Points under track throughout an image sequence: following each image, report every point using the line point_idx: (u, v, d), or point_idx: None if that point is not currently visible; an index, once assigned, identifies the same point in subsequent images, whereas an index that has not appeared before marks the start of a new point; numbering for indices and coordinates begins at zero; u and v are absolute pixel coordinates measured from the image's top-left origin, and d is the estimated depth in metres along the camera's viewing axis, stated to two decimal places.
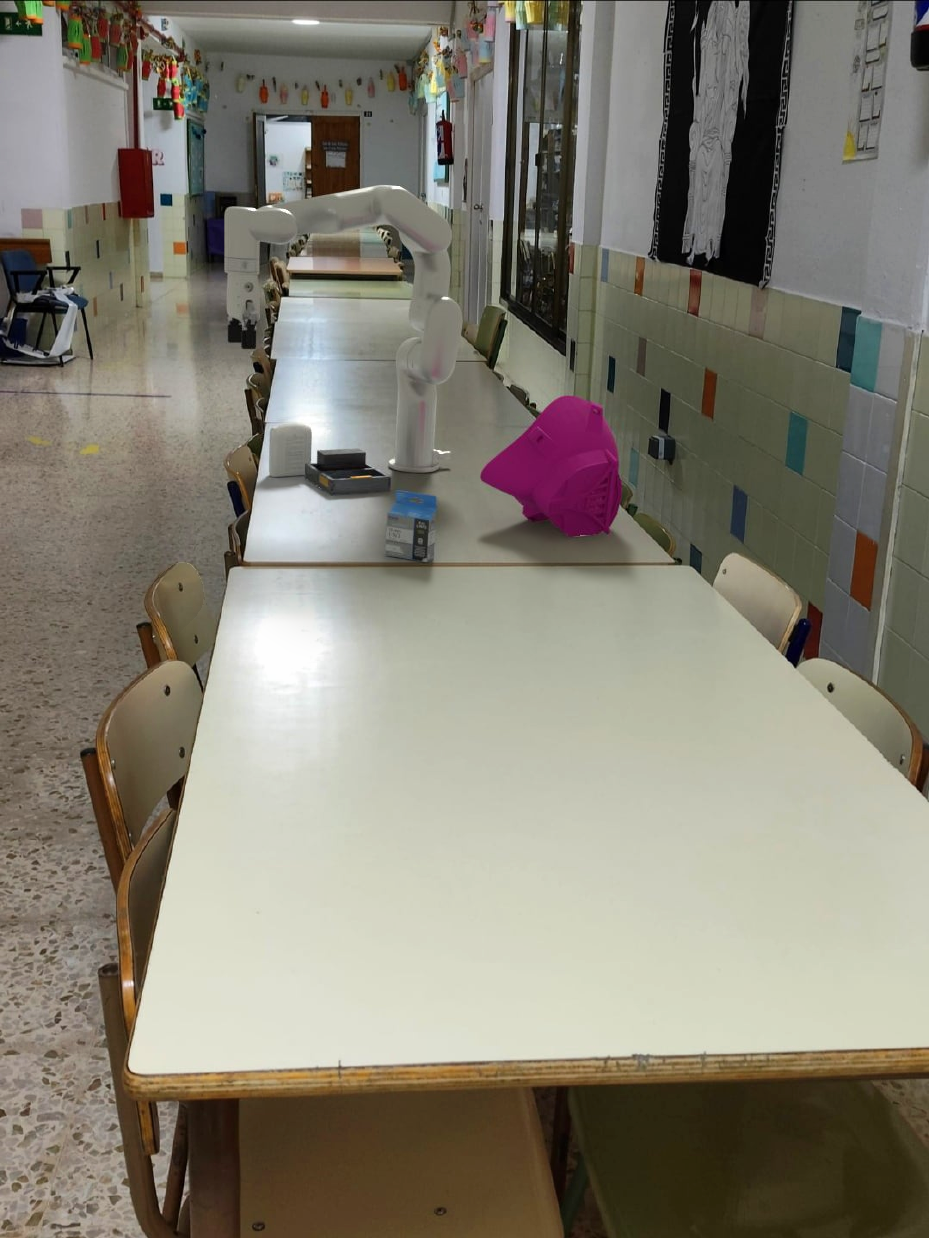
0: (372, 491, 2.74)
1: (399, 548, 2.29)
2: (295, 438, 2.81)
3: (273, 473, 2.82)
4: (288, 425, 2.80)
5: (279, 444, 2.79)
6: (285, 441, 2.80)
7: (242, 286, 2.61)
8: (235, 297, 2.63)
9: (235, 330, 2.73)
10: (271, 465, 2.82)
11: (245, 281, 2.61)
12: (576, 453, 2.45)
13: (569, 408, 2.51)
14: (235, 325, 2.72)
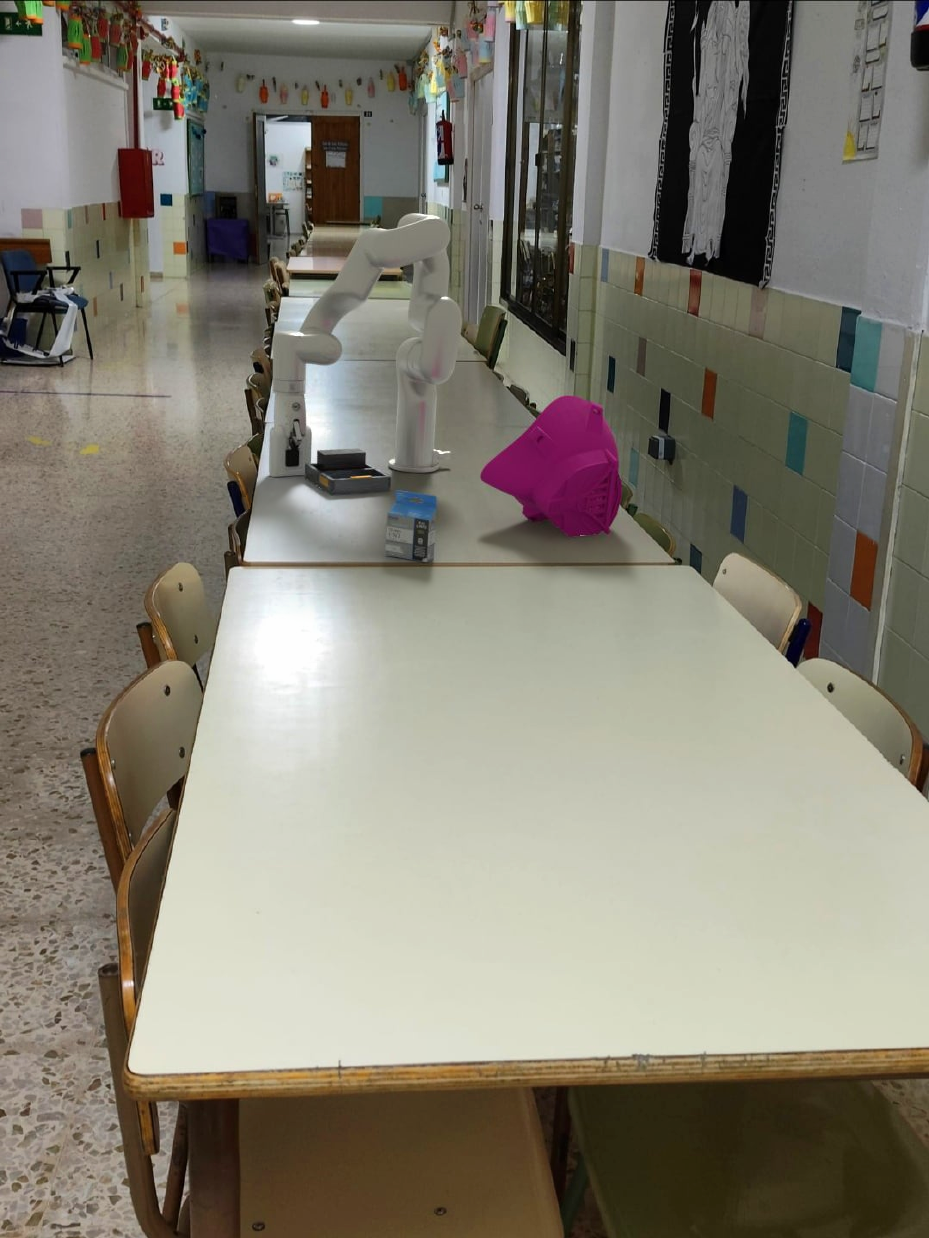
0: (372, 491, 2.74)
1: (399, 548, 2.29)
2: None
3: (273, 473, 2.82)
4: None
5: (279, 444, 2.79)
6: (285, 441, 2.80)
7: (290, 406, 2.75)
8: (283, 416, 2.77)
9: None
10: (271, 465, 2.82)
11: (293, 401, 2.75)
12: (576, 453, 2.45)
13: (569, 408, 2.51)
14: None
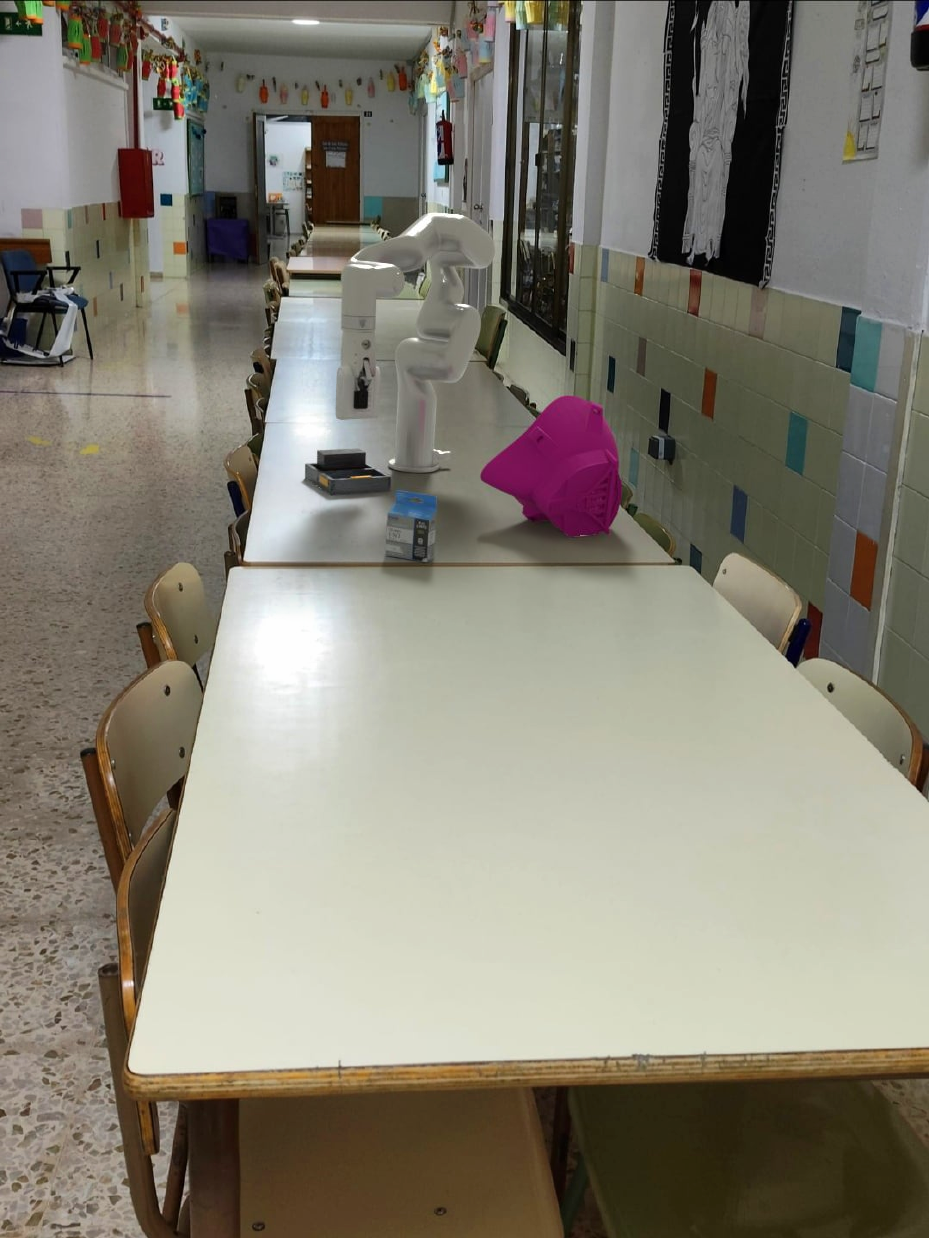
0: (372, 491, 2.74)
1: (399, 548, 2.29)
2: None
3: (340, 415, 2.68)
4: None
5: (347, 385, 2.65)
6: (353, 381, 2.66)
7: (360, 344, 2.61)
8: (352, 354, 2.63)
9: None
10: (338, 407, 2.68)
11: (363, 339, 2.61)
12: (576, 453, 2.45)
13: (569, 408, 2.51)
14: None
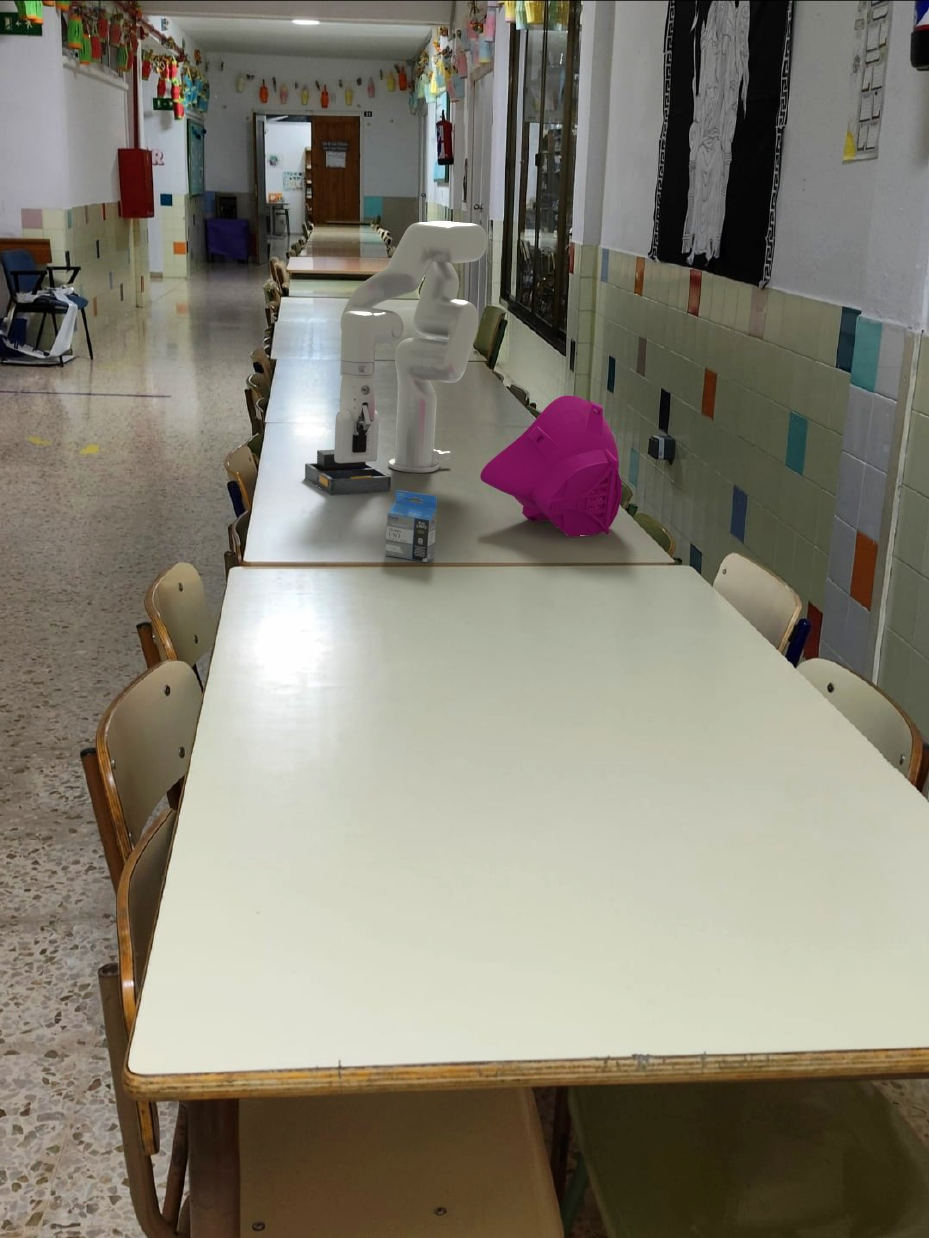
0: (372, 491, 2.74)
1: (399, 548, 2.29)
2: None
3: (339, 459, 2.71)
4: None
5: (346, 429, 2.68)
6: (352, 425, 2.69)
7: (359, 389, 2.64)
8: (351, 399, 2.66)
9: None
10: (337, 451, 2.71)
11: (362, 384, 2.64)
12: (576, 453, 2.45)
13: (569, 408, 2.51)
14: None
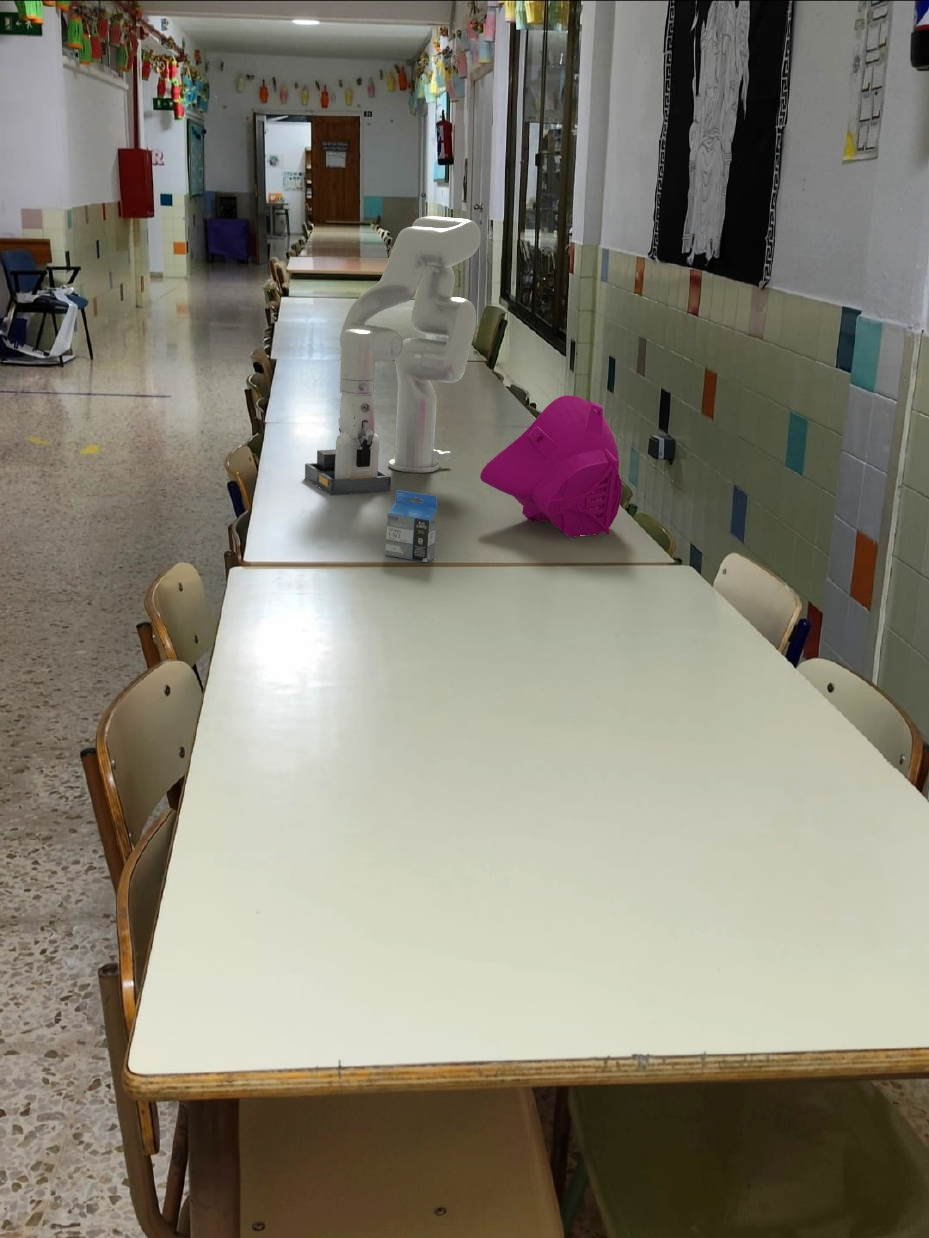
0: (372, 491, 2.74)
1: (399, 548, 2.29)
2: None
3: None
4: None
5: (345, 453, 2.71)
6: (352, 449, 2.71)
7: (358, 407, 2.66)
8: (351, 417, 2.68)
9: None
10: (337, 474, 2.73)
11: (361, 402, 2.65)
12: (576, 453, 2.45)
13: (569, 408, 2.51)
14: None
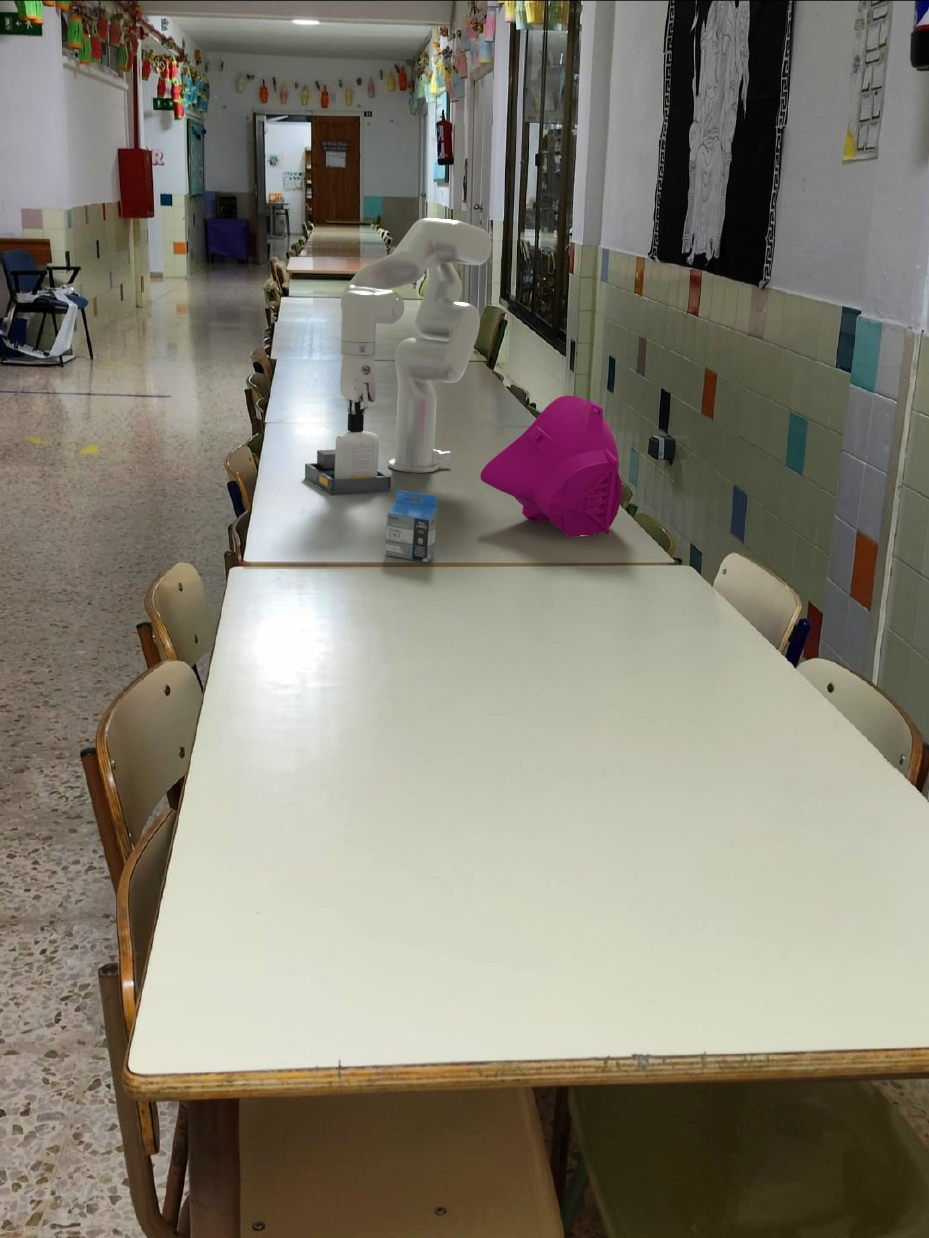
0: (372, 491, 2.74)
1: (399, 548, 2.29)
2: (362, 446, 2.72)
3: None
4: (355, 433, 2.71)
5: (345, 453, 2.71)
6: (351, 449, 2.71)
7: (359, 369, 2.63)
8: (352, 380, 2.65)
9: None
10: (337, 474, 2.73)
11: (362, 364, 2.63)
12: (576, 453, 2.45)
13: (569, 408, 2.51)
14: None
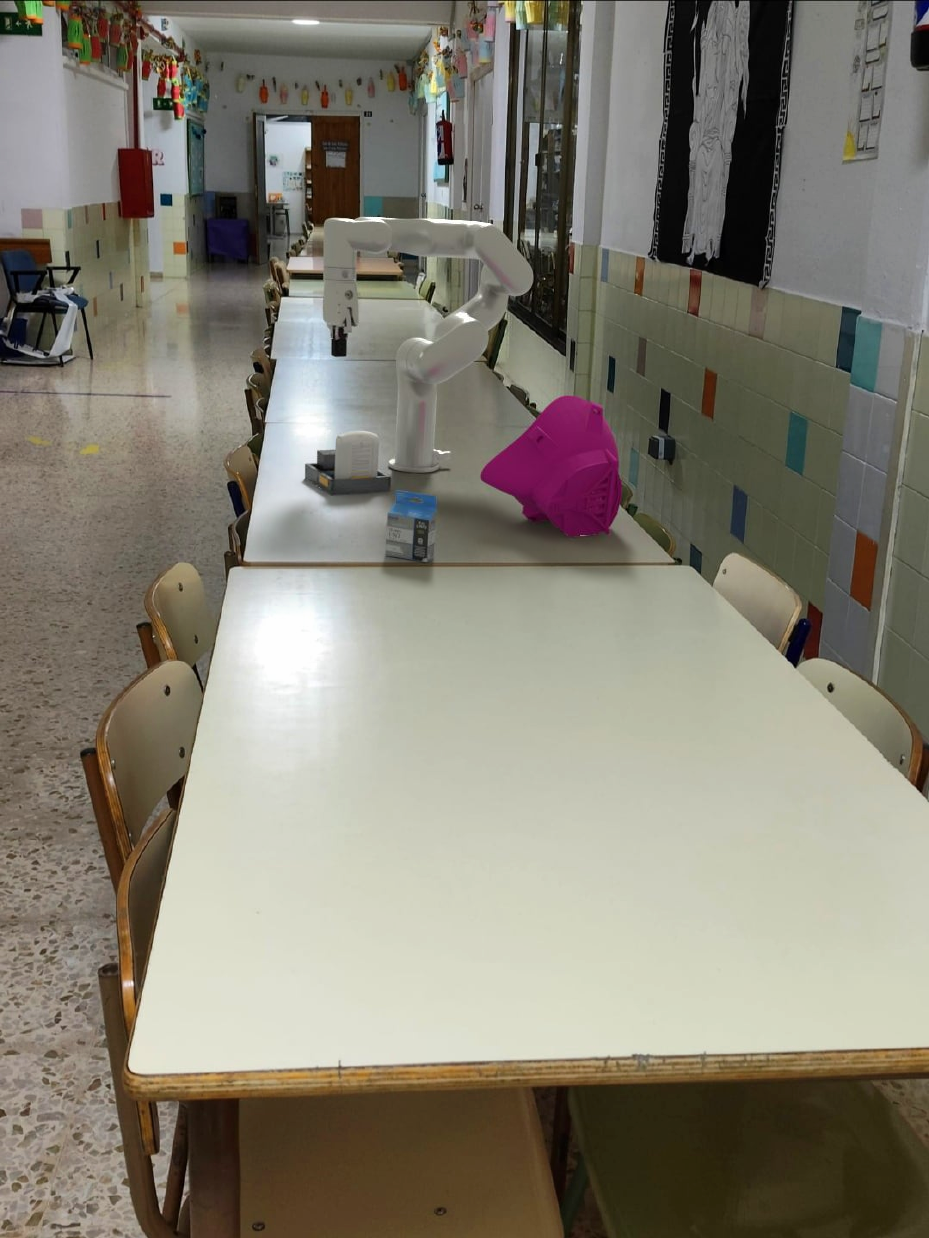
0: (372, 491, 2.74)
1: (399, 548, 2.29)
2: (362, 446, 2.72)
3: None
4: (355, 433, 2.71)
5: (345, 453, 2.71)
6: (351, 449, 2.71)
7: (343, 294, 2.73)
8: (335, 305, 2.75)
9: None
10: (337, 474, 2.73)
11: (345, 289, 2.73)
12: (576, 453, 2.45)
13: (569, 408, 2.51)
14: None
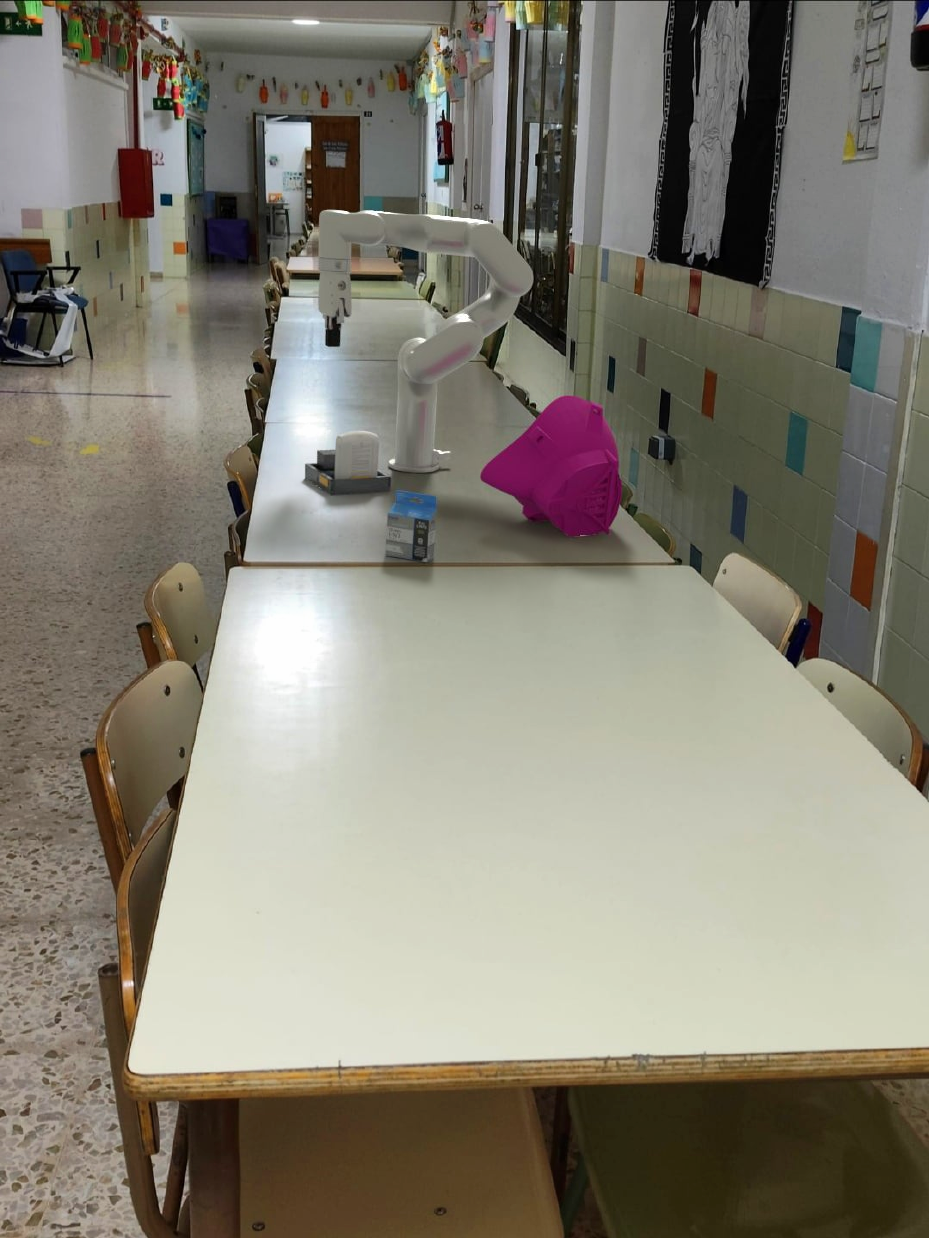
0: (372, 491, 2.74)
1: (399, 548, 2.29)
2: (362, 446, 2.72)
3: None
4: (355, 433, 2.71)
5: (345, 453, 2.71)
6: (351, 449, 2.71)
7: (336, 285, 2.77)
8: (328, 295, 2.79)
9: None
10: (337, 474, 2.73)
11: (338, 280, 2.77)
12: (576, 453, 2.45)
13: (569, 408, 2.51)
14: None
